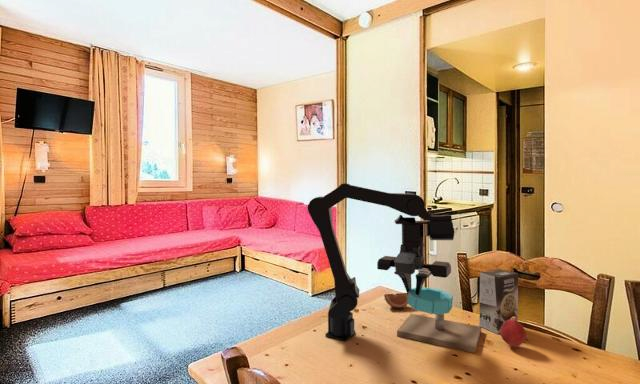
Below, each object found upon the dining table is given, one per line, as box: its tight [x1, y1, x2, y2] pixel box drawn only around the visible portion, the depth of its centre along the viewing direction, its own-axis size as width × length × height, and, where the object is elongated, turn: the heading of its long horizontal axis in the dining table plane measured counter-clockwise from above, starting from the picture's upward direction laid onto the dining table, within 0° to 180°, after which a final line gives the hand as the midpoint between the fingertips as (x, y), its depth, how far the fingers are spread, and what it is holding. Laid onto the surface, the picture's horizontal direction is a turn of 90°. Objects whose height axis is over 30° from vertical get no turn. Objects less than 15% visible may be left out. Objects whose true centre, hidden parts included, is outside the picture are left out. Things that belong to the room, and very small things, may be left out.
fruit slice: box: [383, 292, 409, 310], centre depth 119 cm, size 8×7×5 cm
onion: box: [499, 317, 527, 349], centre depth 90 cm, size 6×6×8 cm
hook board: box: [396, 313, 482, 354], centre depth 98 cm, size 20×14×8 cm
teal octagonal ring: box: [407, 286, 454, 315], centre depth 93 cm, size 11×11×3 cm
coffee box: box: [478, 268, 519, 335], centre depth 102 cm, size 9×6×16 cm
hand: (413, 297), depth 96 cm, fingers closed on teal octagonal ring, 2 cm apart
